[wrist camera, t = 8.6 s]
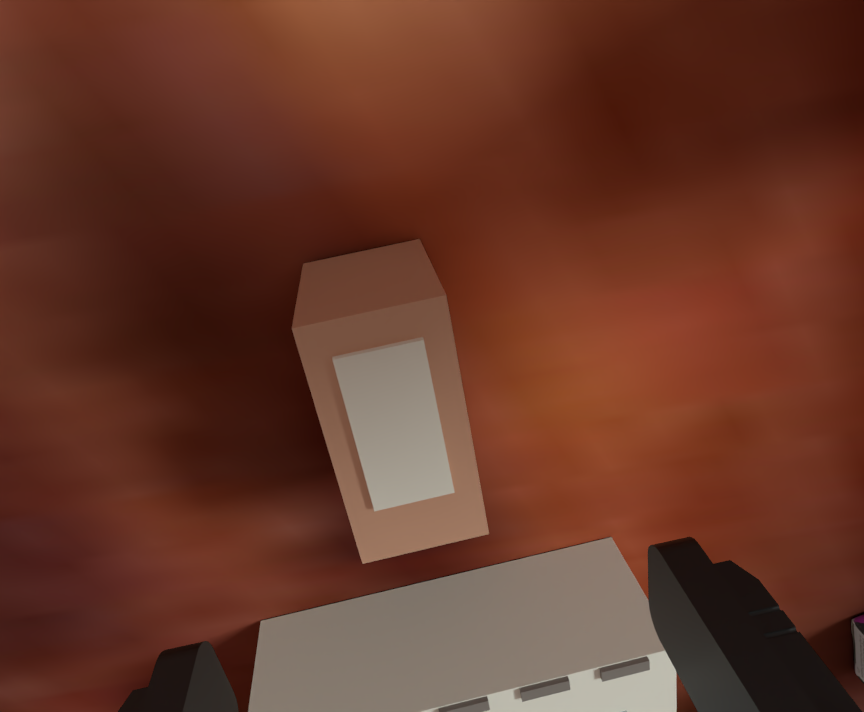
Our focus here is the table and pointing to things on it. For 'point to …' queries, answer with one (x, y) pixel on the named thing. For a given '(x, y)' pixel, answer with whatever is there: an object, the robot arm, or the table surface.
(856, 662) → the candy bar box
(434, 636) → the block
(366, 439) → the tan cardboard box
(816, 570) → the table surface
